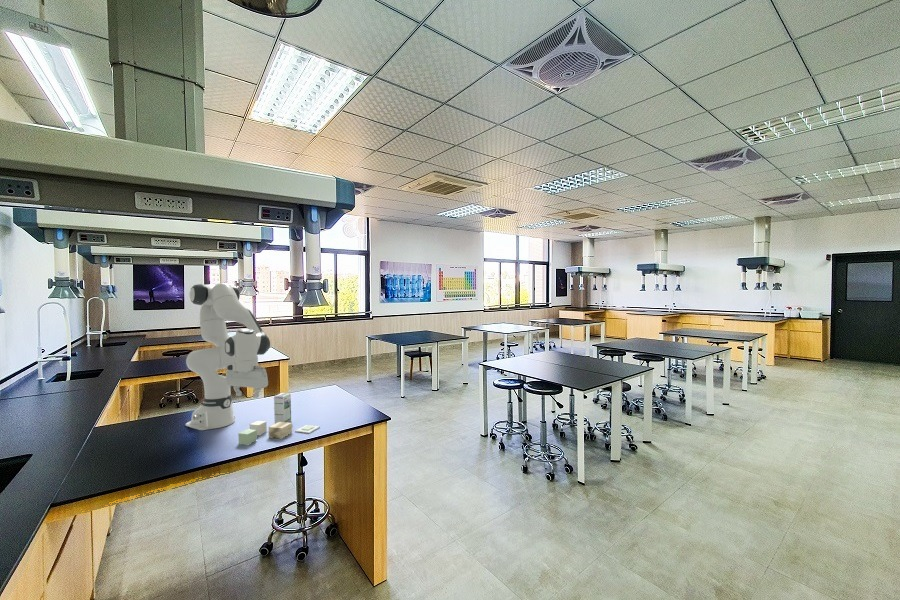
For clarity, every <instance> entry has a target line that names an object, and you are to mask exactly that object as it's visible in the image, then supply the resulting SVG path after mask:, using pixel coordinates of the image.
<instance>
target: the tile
mask: <svg viewBox="0 0 900 600" xmlns="http://www.w3.org/2000/svg"><path fill="white" fill-rule="evenodd" d="M320 428H321V426H319V425H313V424H311V425H310V424H305V425H303V426H302V427H299V428H297V429H295V430H294V432H295V433H300V432H302V434H308V433H310V434H311V433H313V432H315V431H316V430H318V429H320Z"/></svg>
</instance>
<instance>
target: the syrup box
mask: <svg viewBox="0 0 900 600" xmlns="http://www.w3.org/2000/svg"><path fill="white" fill-rule="evenodd" d="M291 399H292V398H291V393H288V392H281V393H278V394H276V395H274V396H273V406H274V407H273V410H274V415H273V416H274V424H276V423H278V422H288V423H290V422H291V421H292V403H291V402H292V401H291Z"/></svg>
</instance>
